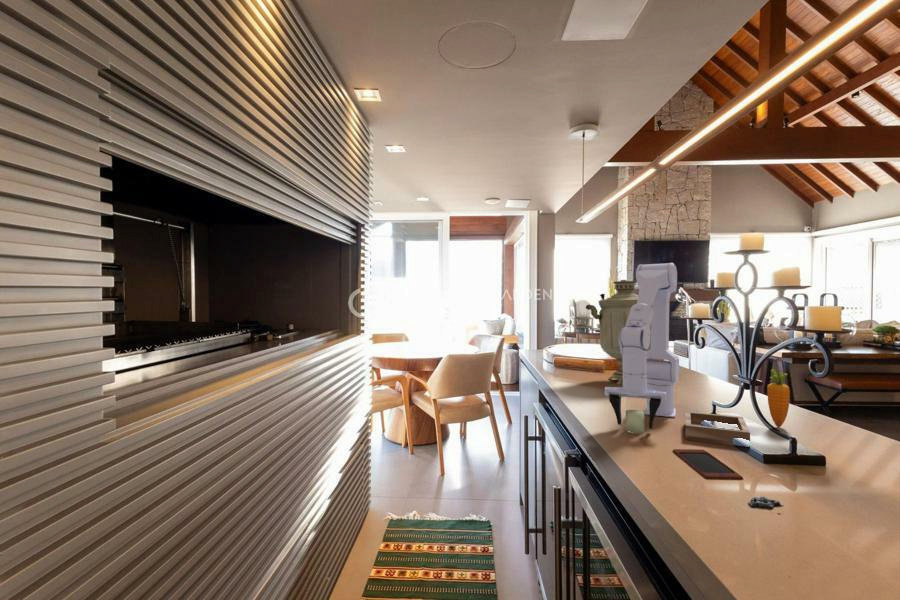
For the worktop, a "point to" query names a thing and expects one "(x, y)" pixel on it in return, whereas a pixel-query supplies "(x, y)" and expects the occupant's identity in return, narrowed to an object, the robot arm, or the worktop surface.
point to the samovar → (615, 321)
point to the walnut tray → (714, 428)
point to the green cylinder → (635, 421)
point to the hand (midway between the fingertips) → (634, 425)
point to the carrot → (778, 398)
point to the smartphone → (707, 464)
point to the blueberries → (764, 503)
